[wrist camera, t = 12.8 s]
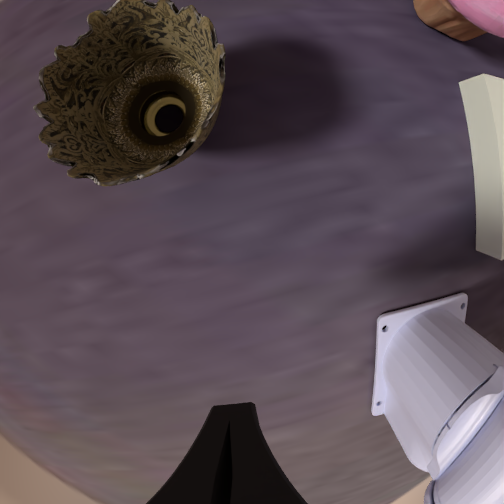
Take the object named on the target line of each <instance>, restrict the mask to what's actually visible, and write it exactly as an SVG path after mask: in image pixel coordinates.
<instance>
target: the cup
mask: <svg viewBox="0 0 504 504" xmlns="http://www.w3.org/2000/svg"><path fill="white" fill-rule="evenodd" d="M87 22H88V25H89V27H90V28H91V29H89V30H90V31H88V32H87V33H86V34H84V35H80V36H79V37H78V39H77V41H76V43H74V44H73V45H72V46H68V47H66V46H63V45H59V46H57V47H56V48H55V51H54V54H55V57H56V59H57V60H56V61H54V62H52V63H50V64H48V65H47V66H44V67H43V68H42V69H41V70H40V73H39V82H40V86H41V88H42V90H43V91H44V94H45V100H44V101H42V102H39V103H38V104H37V105H34V110H35V111H36V113H37V114H38V115H39V117H41V118H44V119H45V120H47V121H48V122H49V123H50V124H48V125H46V126H45V127H43V130H42V131H41V132H40V134H39V139H40V141H41V142H42V143H45V144H47V145H48V148H50V149H49V152H48V154H47V155H48V158H49V159H51V160H52V161H54V162H56V163H59V164H62V165H66V166H72V168H71V169H69V170H67V175H68V176H70V177H72V178H90V179H92V180H93V181H94V183H95V184H97V185H100V186H113V185H118V184H123V183H127V182H130V181H134V180H138V179H142V178H145V177H148V176H151V175H153V174H155V173H158V172H160V171H163V170H166V169H168V168H170V167H173V166H175V165H176V164H178V163H180V162H182V161H183V160H185V159H186V158H188V157H189V156H190V155H191V154H193V153H194V152H195V151H196V150H197V149H198V148H199V147H200V146H201V145H202V143H203V142H204V141H205V140H206V138H207V137H208V135H209V134H210V132H211V130H212V128H213V126H214V124H215V122H216V119H217V116H218V113H219V109H220V105H221V100H222V94H223V89H224V83H225V67H224V61H225V48H224V44H219V43H218V42H217V36H216V31H215V28H214V26H213V24H212V22H211V21H210V19H209V18H207V17H206V16H203V17H202V16H201V14H199V13H198V12H197V10H196V9H195V7H194V6H193V5H190V6H187V7H185V8H184V7H183V8H181V10H180V11H179V10H178V9H177V7H176V6H175V4H174V3H173V2H172V1H170V0H158V2H157V3H151V2H148V1H146V0H117V1H116V2H115V4H114V5H113V6H111V7H110V8H109V9H108V10H106V11H102V10H97V11H94V12H92V13H90V14H89V15H88V17H87ZM168 105H173V106H176V107H178V108H179V109H180V110H181V112H182V114H183V120H182V123H181V125H180V126H179V127H178V128H177V129H176V130H174V131H171V132H164V131H162V130H160V129H159V128H158V127H157V125H156V115H157V113H158V112H159V110H160V109H161V108H163V107H165V106H168Z"/></svg>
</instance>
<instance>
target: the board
mask: <svg viewBox="0 0 504 504" xmlns="http://www.w3.org/2000/svg"><path fill="white" fill-rule="evenodd" d="M459 86H460V90H461V95H462V99H463V104H464V109H465V114H466V119H467V125H468V131H469V137H470V144H471V152H472V160H473V170H474V182H475V199H476V251H479V252H482V253H484V254H487V255H489V256H492V257H494V258H497V259H499V260H504V79H501V78H498V77H494V76H491V75H487V74H481V75H478V76H475V77H473V78H470V79H467V80H464V81H461V82H459Z"/></svg>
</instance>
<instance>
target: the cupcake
mask: <svg viewBox="0 0 504 504" xmlns="http://www.w3.org/2000/svg"><path fill="white" fill-rule="evenodd" d="M413 2H414V8H415V10H416V13H417V15H418V17H419V18H420V19H421V20H422V21H423V22H424V23H425V24H426V25H428V26H430V27H433V28H435V29H436V30H438V31H440V32H443V33H445V34H447V35H448V36H450V37H452V38H455V39H457V40H460V41H468V40H470V39H473V38H475V37H478V36H480V35H482V34H485V33H487V32H489V33H491V34H493V35H496V36H499V37H502V38H504V0H413Z"/></svg>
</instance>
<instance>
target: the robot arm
mask: <svg viewBox="0 0 504 504" xmlns="http://www.w3.org/2000/svg"><path fill="white" fill-rule="evenodd" d="M467 302H468V296H467V294H465V293H459V294H456V295H452V296H449V297H445V298H442V299H438V300H435V301H431V302H428V303H424V304H420V305H417V306H413V307H409V308H405V309H401V310H397V311H393V312H389V313H385V314H382V315H380V316H379V318H378V319H377V339H376V361H375V376H374V388H373V399H372V408H371V412H372V414H373V415H374V416H378V415H381V414H385V416H386V418H387V420H388V422H389V423H390V425H391V427H392V429H393V431H394V433H395V435H396V436H397V438H398V440H399V442H400V444H401V446H402V448H403V450H404V452H405V453H406V455H407V457H408V459H409V460H410V462H411V463H412V464H413V465H415V466H416V467H417V468H419V469H421V470H423V471H426V472H429V473H430V475H431V477H432V479H433V480H432V481H431V482H430V483H429V485H428V487H427V489H426V492H425V496H424V504H504V353H503V352H501V351H500V350H499V349H498V348H496V347H495V346H494V345H493V344H491V343H490V342H489V341H487V340H486V339H485V338H484V337H482V336H481V335H480V334H478V333H477V332H476V331H475V330H473V329H472V328H471V327H469V326H468V325H467V324H465V317H466V310H467ZM461 305H462V306H461ZM385 325H387V326H386V328H385V329H383V330H382V328H383V327H384V326H385ZM377 402H378V403H377ZM146 504H307V502H306V501H305V500H304V499H303V498H302V496H301V495H300V494H299V493H298V492H297V490H296V489H295V488H294V486H293V485H292V484H291V482H290V481H289V480H288V478H287V477H286V475H285V474H284V472H283V471H282V469H281V468H280V466H279V464H278V463H277V461H276V459H275V458H274V456H273V454H272V452H271V450H270V448H269V446H268V444H267V442H266V440H265V438H264V436H263V434H262V431H261V429H260V426H259V421H258V417H257V412H256V407H255V404H253V403H252V402H248V403H239V404H229V405H217V406H213V407H212V408H211V410H210V412H209V414H208V417H207V419H206V421H205V423H204V425H203V427H202V429H201V430H200V432H199V434H198V436H197V438H196V439H195V441H194V443H193V444H192V446H191V448H190V449H189V451H188V453H187V454H186V456H185V457H184V459H183V460H182V462H181V463H180V464H179V466H178V467H177V469H176V470H175V471H174V473H173V474H172V475H171V477H170V478H169V479H168V480H167V482H166V483H165V484H164V485H163V486H162V487H161V489H160V490H159V491H158V492H157V493H156V494H155V495H154V496H153V497H152V498H151V499H150V500H149V501H148V502H147V503H146Z"/></svg>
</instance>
